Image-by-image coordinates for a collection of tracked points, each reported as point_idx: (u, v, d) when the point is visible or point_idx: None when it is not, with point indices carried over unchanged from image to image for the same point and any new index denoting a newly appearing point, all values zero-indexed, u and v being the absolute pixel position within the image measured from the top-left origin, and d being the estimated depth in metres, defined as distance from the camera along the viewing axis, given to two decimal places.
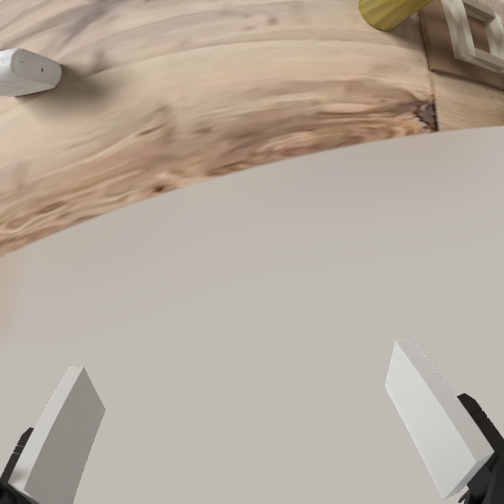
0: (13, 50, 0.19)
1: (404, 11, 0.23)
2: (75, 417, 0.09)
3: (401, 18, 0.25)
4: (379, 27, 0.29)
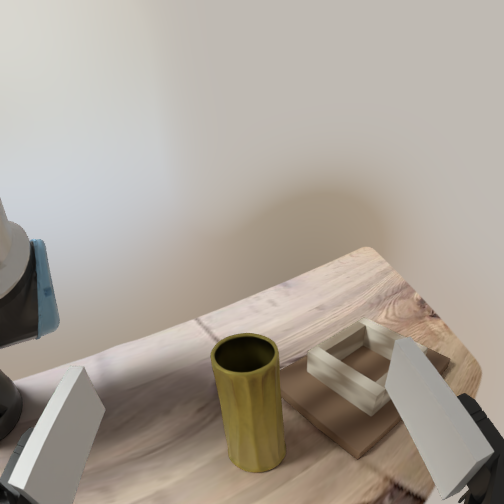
0: None
1: (265, 430, 0.23)
2: (75, 417, 0.09)
3: (274, 440, 0.24)
4: (266, 468, 0.25)
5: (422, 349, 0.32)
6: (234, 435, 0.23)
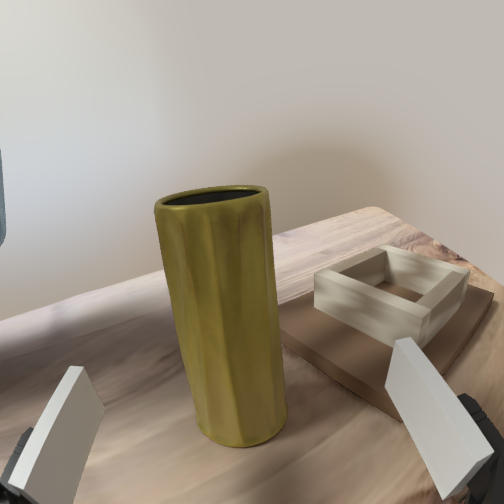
0: None
1: (250, 356, 0.14)
2: (75, 417, 0.09)
3: (267, 382, 0.15)
4: (256, 439, 0.16)
5: (464, 271, 0.23)
6: (197, 369, 0.14)
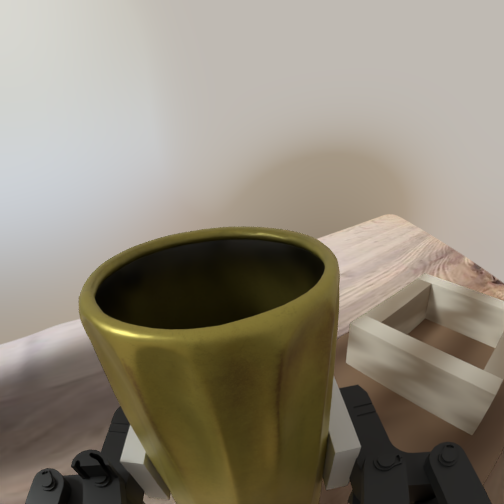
0: None
1: None
2: None
3: None
4: None
5: None
6: None
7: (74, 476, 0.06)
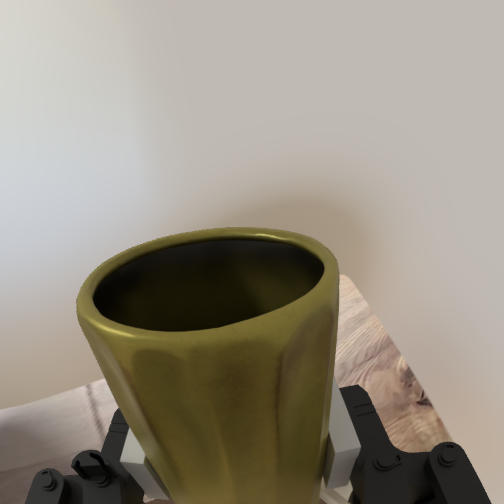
0: None
1: None
2: None
3: None
4: None
5: None
6: None
7: (74, 476, 0.06)
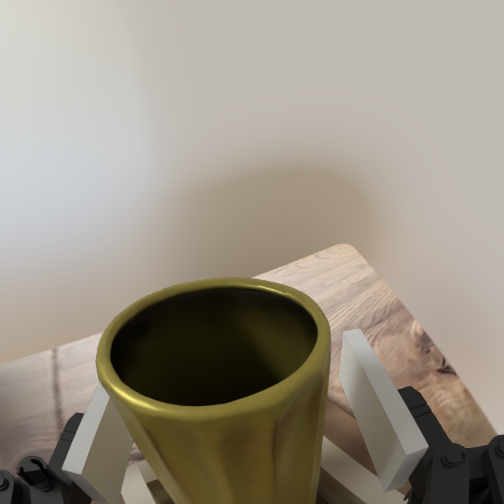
0: None
1: None
2: None
3: None
4: None
5: None
6: None
7: None
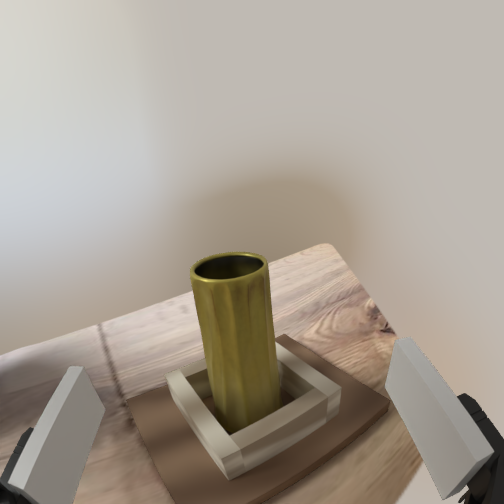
0: None
1: (255, 371, 0.20)
2: (75, 417, 0.09)
3: (267, 388, 0.21)
4: None
5: (331, 389, 0.22)
6: (219, 379, 0.21)
7: None
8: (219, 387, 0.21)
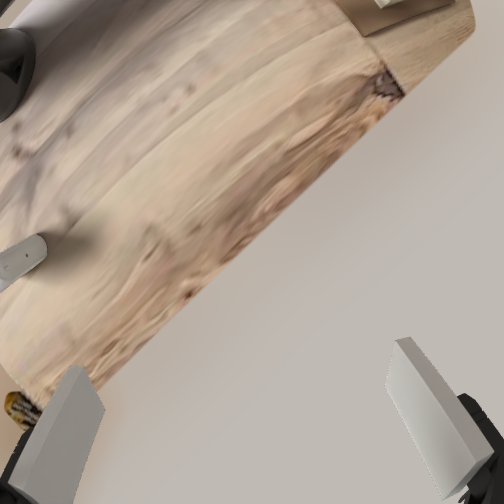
0: None
1: None
2: (75, 417, 0.09)
3: None
4: None
5: None
6: None
7: None
8: None
